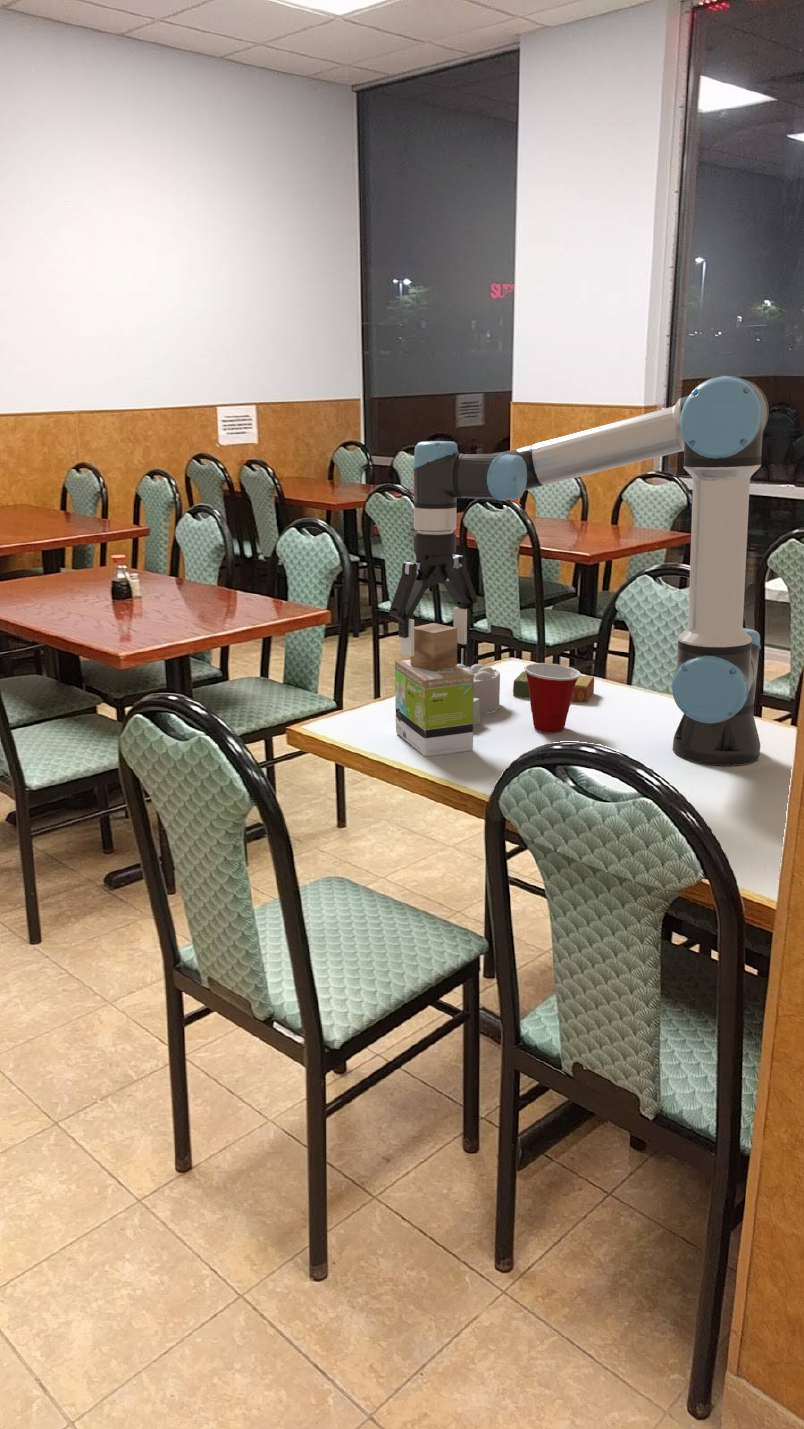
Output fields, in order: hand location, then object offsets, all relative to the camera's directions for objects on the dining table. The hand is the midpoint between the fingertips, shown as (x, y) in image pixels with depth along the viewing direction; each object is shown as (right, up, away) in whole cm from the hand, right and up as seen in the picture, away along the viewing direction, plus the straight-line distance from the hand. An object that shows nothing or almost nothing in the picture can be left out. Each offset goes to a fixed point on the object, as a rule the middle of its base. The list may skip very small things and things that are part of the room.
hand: (434, 649), depth 197 cm
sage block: (+6, -14, +16) cm, 22 cm away
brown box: (0, -3, +1) cm, 3 cm away
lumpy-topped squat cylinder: (+8, -11, +27) cm, 30 cm away
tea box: (0, -17, +5) cm, 18 cm away
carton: (+27, -8, +36) cm, 46 cm away
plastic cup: (+23, -15, +13) cm, 30 cm away
